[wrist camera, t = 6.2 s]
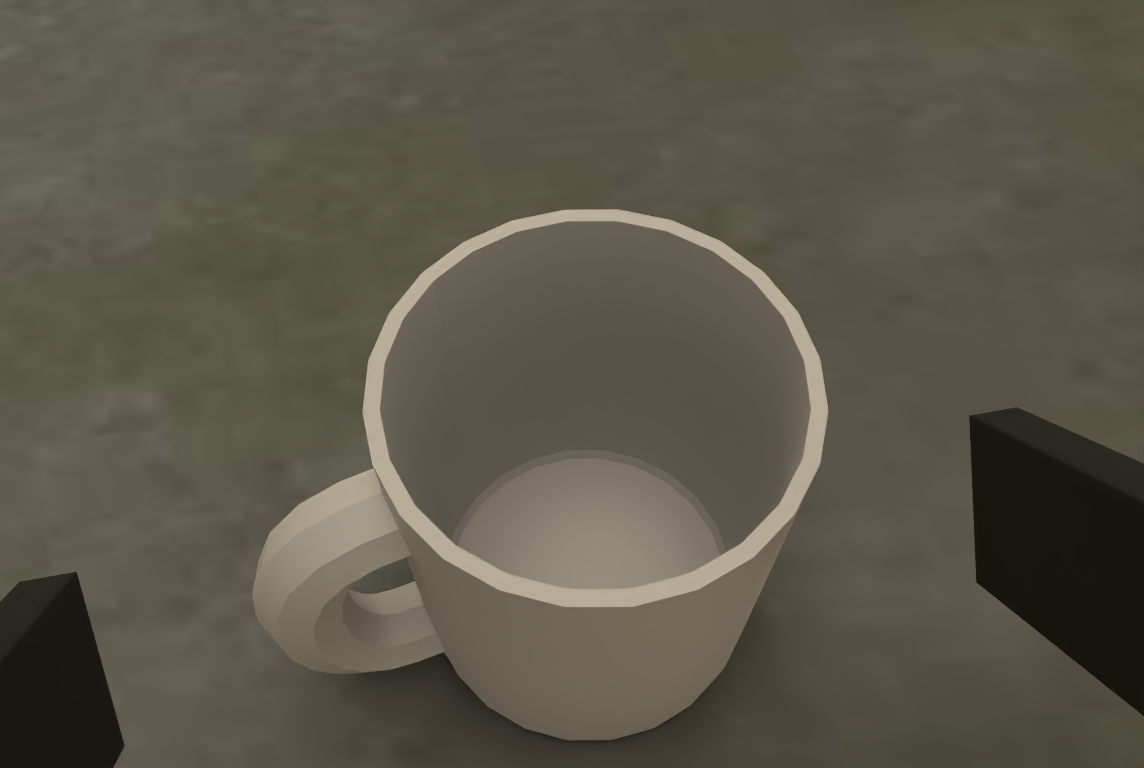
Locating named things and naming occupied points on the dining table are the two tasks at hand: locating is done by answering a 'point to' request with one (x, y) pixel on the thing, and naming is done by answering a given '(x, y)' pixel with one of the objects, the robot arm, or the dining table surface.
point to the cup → (563, 474)
